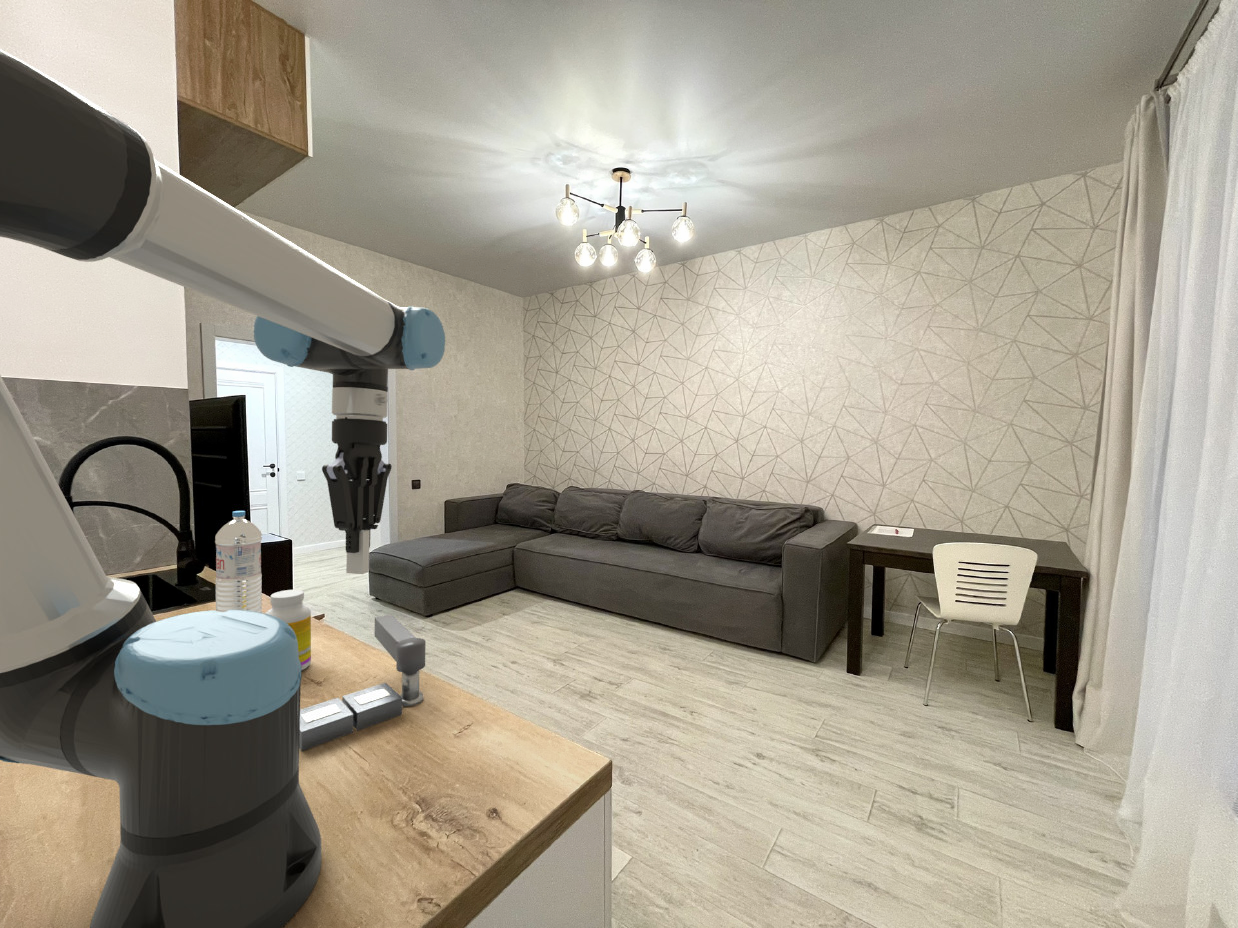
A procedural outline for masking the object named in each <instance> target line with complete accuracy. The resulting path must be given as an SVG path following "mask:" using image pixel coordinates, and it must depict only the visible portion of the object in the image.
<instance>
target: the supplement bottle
mask: <svg viewBox="0 0 1238 928" xmlns="http://www.w3.org/2000/svg"><path fill="white" fill-rule="evenodd" d="M304 599H305V593H304V590H303V589H302V590H301V589H287V590H285V589H284V590H280V591H277V592H274V593H272V594H271V595H270V605H271V606H272V607H271V608H270V609H268V610H267V611H266V612H265V614H268V615H272V616H274V617H277V618H279V619H281V620H283V621H284V622H286V623H287V624H288V625H289V626H290V627H291V628H292V629H293V631H294V633H295V635H296V638H297V642H298V657H299V660H300V663H301V667H302V668H301V672H302V671H304V670H306V669H307V668H308V667H309V666H310V665H311V662H312V637H311V636H312V633H311V632H312V626H311V625H312V622H311V621H312V620H311V619H312V618H311V617H312V615H311V614H312V613H311V612H312V611H311V609H310V607H309V606H308V605H306V604H303V601H304Z"/></svg>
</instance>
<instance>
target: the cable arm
mask: <svg viewBox="0 0 1238 928" xmlns="http://www.w3.org/2000/svg"><path fill="white" fill-rule="evenodd" d="M374 637H375V639H377V641H378V642H379V643H380V645H382V647H383V648H384V649H385V651H387V653H388V654H389V655H390V656H391V658H392V659H393V660H394V661H395V662H396V664H395V665H396V671H397V672H399V673H402V672H403V673H410V672H415V671H419V670H422V669H424V668H425V667H426V646H427V645H426V639H424V638H421V637H416V636H415V635H414V634H413V633H412V632H411V631H410V630H409V629H408V628H407V627H406V626H404V624H403V623H401V622H400V621H399V620H398V618H396V617H395V616H394V614H386V615H380V616H375V617H374Z"/></svg>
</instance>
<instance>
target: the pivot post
mask: <svg viewBox="0 0 1238 928" xmlns="http://www.w3.org/2000/svg"><path fill="white" fill-rule="evenodd" d="M401 676H402V677H401V686H402V687H401V694H399V695H400V696H401V697H402V708H404V707H406V708H407V707H414V706H417V705H419V704H420V703H422V702H423V701H424V693H423V692H422V691H420V670H419V671H415V672H410V673H403V672H401Z"/></svg>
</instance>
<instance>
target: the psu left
mask: <svg viewBox="0 0 1238 928" xmlns="http://www.w3.org/2000/svg"><path fill="white" fill-rule="evenodd" d="M339 697H340V696H339ZM339 697H336V698H332V699H329V700H326V701H323V702H320V703H317V704H312V705H310V706H307V707H305V708H300V737H299V751H301V752H304V751H306V750H310V749H312V748H314V747H317V746H318V747H319V746H320V745H323V744H326V743H328V742H332V741H334V740H336V739H339V738H343V737H344V736H347V735H348V736H349V735H350V734H353V733H354V727H353V713H352V712H351V711H350V710H349V709H348V708H347V706H346V705H345V704H344V703H343V702H342V700H341V699H340V698H339Z"/></svg>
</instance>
